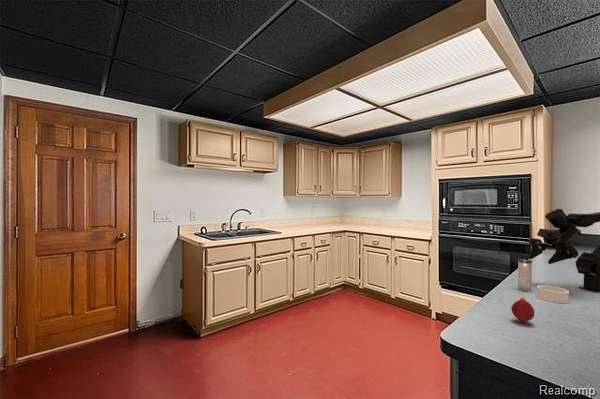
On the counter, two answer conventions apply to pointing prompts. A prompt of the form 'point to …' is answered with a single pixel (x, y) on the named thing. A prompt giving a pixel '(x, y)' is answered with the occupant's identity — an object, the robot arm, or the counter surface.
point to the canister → (524, 275)
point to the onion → (522, 310)
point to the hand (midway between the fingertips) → (538, 260)
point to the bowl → (553, 294)
